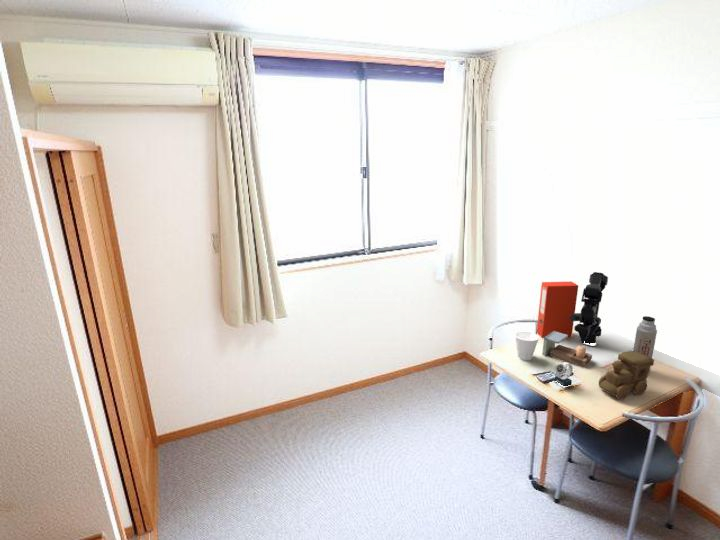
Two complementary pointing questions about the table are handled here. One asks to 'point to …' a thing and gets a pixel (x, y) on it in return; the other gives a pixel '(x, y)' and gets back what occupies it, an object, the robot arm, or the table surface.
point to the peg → (581, 352)
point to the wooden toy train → (627, 375)
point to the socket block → (570, 356)
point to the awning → (552, 341)
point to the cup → (526, 344)
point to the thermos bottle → (645, 337)
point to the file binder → (556, 308)
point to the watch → (561, 370)
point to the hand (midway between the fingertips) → (585, 339)
